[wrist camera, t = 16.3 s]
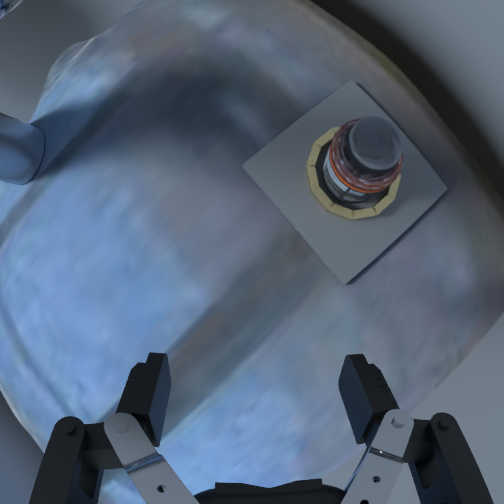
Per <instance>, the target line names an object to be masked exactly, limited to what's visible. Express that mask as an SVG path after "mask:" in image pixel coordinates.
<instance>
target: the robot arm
mask: <svg viewBox="0 0 504 504" xmlns="http://www.w3.org/2000/svg"><path fill="white" fill-rule="evenodd" d="M43 152H44V137H43V133H42V132H41V130H40V129H39V128H37V127H35V126H32V125H30V124H28V123H25V122H23V121H21V120H18V119H15V118H13V117H11V116H8V115H6V114H3V113H1V112H0V182H6V183H11V184H17V185H22V184H25V183H27V182H28V181H29V180H30V179H31V178H32V177H33V176H34V174H35V173H36V171H37V170H38V168H39V165H40V163H41V160H42V157H43ZM170 389H171V376H170V370H169V364H168V357H167V354H165V353H153V352H150V353H149V355H148V358H147V361H146V363H139V362H138V363H137V364H136V365H135V366H134V367H133V368H132V369H131V371H130V374H129V377H128V380H127V382H126V387H125V388H124V391H123V394H122V396H121V399H120V402H119V405H118V408H117V411H116V413H115V414H113V415H111V416H109V417H108V418H107V419H106V421H105V422H103V423H96V424H84V423H83V422H82V421H81V420H80V419H79V418H76V417H72V416H68V417H64V418H62V419H60V420H59V421H58V422H57V423H56V424H55V426H54V429H53V431H52V434H51V437H50V439H49V442H48V445H47V448H46V451H45V454H44V456H43V459H42V462H41V466H40V468H39V472H38V475H37V478H36V481H35V484H34V488H33V491H32V494H31V498H30V502H29V504H97V503H98V498H99V492H100V487H101V482H102V477H103V472H104V469H115V468H125V470H126V472H127V473H128V475H129V477H130V479H131V480H132V482H133V483H134V485H135V487H136V488H137V490H138V491H139V493H140V495H141V496H142V498H143V499H144V501H145V502H146V504H386V503H387V501H388V499H389V497H390V494H391V492H392V490H393V487H394V485H395V483H396V481H397V478H398V476H399V473H400V470H401V468H402V465H403V462H405V463H408V465H409V468H410V471H411V473H412V477H413V480H414V483H415V486H416V489H417V493H418V496H419V499H420V503H421V504H494V503H493V501H492V498H491V496H490V493H489V491H488V488H487V486H486V484H485V481H484V479H483V476H482V474H481V472H480V470H479V467H478V465H477V463H476V461H475V458H474V456H473V454H472V452H471V450H470V448H469V446H468V444H467V442H466V439H465V437H464V435H463V433H462V431H461V429H460V427H459V425H458V423H457V421H456V420H455V418H454V417H453V416H451V415H450V414H447V413H442V412H441V413H437V414H435V415H434V416H433V417H432V418H431V420H418V419H413V418H412V416H411V415H410V414H409V413H408V412H406V411H404V410H401V409H399V407H398V405H397V402H396V400H395V398H394V396H393V394H392V392H391V390H390V388H389V386H388V384H387V382H386V380H385V378H384V376H383V374H382V372H381V370H380V369H378V368H377V367H376V366H375V365H374V364H368V362H367V360H366V358H365V356H364V355H363V354H353V355H347V356H346V357H345V360H344V364H343V367H342V370H341V374H340V377H339V391H340V394H341V397H342V400H343V403H344V406H345V409H346V412H347V415H348V418H349V421H350V424H351V427H352V430H353V433H354V436H355V439H356V442H357V444H363V443H366V446H367V448H366V450H365V452H364V454H363V456H362V458H361V460H360V462H359V464H358V466H357V468H356V469H355V471H354V473H353V475H352V477H351V478H350V480H349V482H348V483H347V485H346V487H345V488H344V490H342V489H339V488H337V487H333V486H329V485H323V484H322V479H321V478H319V479H310V480H300V481H294V482H291V483H287V484H284V485H280V486H277V487H273V488H265V487H259V486H254V485H249V484H244V483H217V482H215V489H209V490H206V491H203V492H200V493H198V494H196V495H194V496H193V495H192V494H191V493H190V491H189V490H188V489H187V488H186V486H185V485H184V484H183V482H182V481H181V480H180V479H179V477H178V476H177V475H176V473H175V472H174V471H173V469H172V468H171V467H170V465H169V464H168V462H167V461H166V460H165V458H164V457H163V456H162V455H159V454H158V452H157V451H156V449H155V448H154V447H159V445H160V440H161V435H162V429H163V424H164V419H165V414H166V409H167V404H168V399H169V395H170Z"/></svg>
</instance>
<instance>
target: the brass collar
mask: <svg viewBox="0 0 504 504" xmlns="http://www.w3.org/2000/svg"><path fill="white" fill-rule="evenodd" d="M339 128H340V127H334V128H331V129H330V130H329V131H328V132H326V133H325V134H324V135H323V136H321V137H320V138H319V139H318V140H316V141H315V142H314V144H313V147H312V150H311V152H310V155H309V158H308V161H307V164H306V169H305V171H306V175H307V180H308V185H309V190H310V193H311V195H312V196H313V197H314V198H315V200H316V201H317V202H318V203H319V204H320V205H321V207H322V208H323V209H324V210H325V211H326V212H327V213H330V214H332V215H335V216H338V217H340V218H343V219H346V220H348V221H351V220H357V219H363V218H369V217H373V216H376V215H378V214H379V213H380V212H381V211H382V210H384V209H385V208H386V207H387V206H388V205H389V204H390V203H391V202H392V201H393V200H394V199H395V197H396V193H397V189H398V186H399V182H400V179H401V174H399V176H398V177H397V179H396V180H395V181H394V182H393V183H392V184H391V185H389V186H388V187H387V188H385V190H384V194H383V197H382V198H381V199H380V200H379V201H378V202H376V203H375V204H374V205H373V206H372V207H371V208H367V209H361V210H355V211H353V210H350V209H348V208H345V207H342V206H340V205H337V204H334V203H333V202H332V201H331V200H330V198H329V197H328V196H327V195H326V194H325V193H324V192H323V190H322V189H321V188H320V187H319V183H318V178H317V174H316V169H315V165H316V162H317V159H318V156H319V153H320V152H321V151H322V150H323V149H325V148H326V147H327V146H328V145H330V144H331V142H332V139H333V137H334V135H335V133H336V132H337V130H338V129H339Z"/></svg>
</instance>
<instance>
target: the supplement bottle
mask: <svg viewBox="0 0 504 504" xmlns="http://www.w3.org/2000/svg"><path fill="white" fill-rule="evenodd" d="M403 157H404V156H403V141H402V138H401V135H400V133H399V131H398V130H397V129H396V127H395V126H394V125H393V124H392V123H390V122H389V121H387V120H385V119H383V118H381V117H376V116H368V117H364V118H358V119H353V120H350V121H348V122H346V123H345V124H343V125H342V126H341V127H340V128H339V129H338V130H337V132H336V133H335V135H334V137H333V139H332V142H331V144H330V147H329V150H328V153H327V156H326V159H325V162H324V166H323V180H324V183H325V185H326V187H327V189H328V190H329V192H330V193H331V194H332V195H333V196H334V197H336V198H337V199H339V200H341V201H343V202H347V203H360V202H363V201H365V200H367V199H369V198H371V197H372V196H374V195H376V194H377V193H379V192H381V191H382V190H384V189H385V188H387V187H388V186H389V185H391V184H392V183H393V182H394V181H395V180H396V179H397V177H398V176H399V174H400V172H401V170H402V166H403V160H404V159H403Z"/></svg>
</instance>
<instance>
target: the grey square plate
mask: <svg viewBox="0 0 504 504" xmlns="http://www.w3.org/2000/svg"><path fill="white" fill-rule="evenodd" d="M368 116H376V117H381V118H383V119H385V120H387V121H389V122H390V123H392V124H393V125H394V126H395V127H396V129H397V130H398V131H399V133H400V135H401V138H402V141H403V156H404V157H403V159H404V160H403V166H402V170H401V172H400V174H401V179H400V182H399V186H398V189H397V193H396V197H395V199H394V200H393V201H392V202H391V203H390V204H389V205H388V206H387V207H386V208H385V209H384V210H382V211H381V212H380V213H379V214H378V215H376V216H373V217H369V218H363V219H357V220H351V221H348V220H346V219H343V218H340V217H338V216H335V215H332V214H330V213H327V212H326V211H325V210H324V209H323V208H322V207H321V205H320V204H319V203H318V202H317V201H316V200H315V198H314V197H313V196H312V195H311V193H310V190H309V185H308V180H307V175H306V171H305V169H306V164H307V161H308V158H309V155H310V152H311V150H312V147H313V144H314V142H315V141H316V140H318V139H319V138H320V137H321V136H323V135H324V134H325V133H326V132H328V131H329V130H330V129H331V128H334V127H341V126H342V125H343V124H345V123H346V122H348V121H350V120H353V119H358V118H364V117H368ZM329 147H330V145H328V146H327V147H326V148H325V149H323V150H322V151H321V152H320V153H319V156H318V159H317V162H316V165H315V169H316V174H317V178H318V183H319V187H320V188H321V189H322V190H323V192H324V193H325V194H326V195H327V196H328V197H329V198H330V200H331V201H332V202H333V203H334V204H337V205H340V206H342V207H345V208H348V209H350V210H353V211H355V210H361V209H367V208H371V207H372V206H373V205H374V204H375V203H376V202H378V201H379V200H380V199H381V198H382V197H383V194H384V190H385V189H384V190H382V191H381V192H379V193H377V194H376V195H374V196H372V197H371V198H369V199H367V200H365V201H363V202H360V203H347V202H343V201H341V200H339V199H337V198H336V197H334V196H333V195H332V194H331V193H330V192H329V190H328V189H327V187H326V185H325V183H324V180H323V166H324V162H325V159H326V156H327V153H328V150H329ZM242 168H243V169H244V170H245V171H246V172H247V173H248V175H249V176H250V177H251V178H252V179H253V180H254V181H255V182H256V184H257V185H258V186H259V187H260V188H261V189H262V190H263V192H264V193H265V194H266V195H267V196H268V197H269V198H270V200H271V201H272V202H273V203H274V204H275V205H276V206H277V208H278V209H279V210H280V211H281V212H282V213H283V215H284V216H285V217H286V218H287V219H288V220H289V222H290V223H291V224H292V225H293V226H294V228H295V229H296V230H297V231H298V232H299V233H300V235H301V236H302V237H303V238H304V239H305V241H306V242H307V243H308V244H309V245H310V247H311V248H312V249H313V250H314V251H315V253H316V254H317V255H318V256H319V258H320V259H321V260H322V261H323V262H324V264H325V265H326V266H327V267H328V268H329V270H330V271H331V272H332V273H333V275H334V276H335V277H336V278H337V280H338V281H339V282H340V283H341V285H342V286H344V285H345V284H346V283H348V282H349V281H350V280H351V279H352V278H353V277H355V276H356V275H357V274H358V273H359V272H360V271H362V270H363V269H364V268H365V267H366V266H367V265H368V264H369V263H371V262H372V261H373V260H374V259H375V258H376V257H377V256H378V255H380V254H381V253H382V252H383V251H384V250H385V249H386V248H387V247H388V246H389V245H391V244H392V243H393V242H394V241H395V240H396V239H397V238H398V237H399V236H400V235H401V234H402V233H403V232H405V231H406V230H407V229H408V228H409V227H410V226H411V225H412V224H413V223H414V222H415V221H416V220H417V219H418V218H419V217H420V216H421V215H422V214H423V213H424V212H425V211H426V210H427V209H428V208H429V207H430V206H431V205H432V204H433V203H434V202H435V201H436V200H437V199H438V198H439V197H440V196H441V195H442V194H443V193H444V192H445V191H446V190H447V189H448V188H447V187H446V186H445V184H444V183H443V181H442V180H441V179H440V177H439V176H438V175H437V173H436V172H435V171H434V170H433V168H432V167H431V166H430V164H429V163H428V162H427V161H426V159H425V158H424V157H423V156H422V154H421V153H420V152H419V151H418V149H417V148H416V147H415V146H414V145H413V143H412V142H411V141H410V140H409V139H408V138H407V136H406V135H405V134H404V133H403V132H402V131H401V130H400V129H399V127H398V126H397V125H396V124H395V123H394V122H393V121H392V120H391V119H390V117H389V116H388V115H387V114H386V113H385V112H384V111H383V110H382V109H381V108H380V107H379V106H378V105H377V104H376V103H375V102H374V101H373V100H372V99H371V98H370V97H369V96H368V95H367V94H366V93H365V92H364V91H363V90H362V89H361V88H360V87H359V86H358V85H357V84H356V83H355V82H354V81H353V80H352V79H351V80H350V81H348V82H347V83H346V84H344V85H343V86H342V87H340V88H339V89H337V90H336V91H335V92H333V93H332V94H331V95H329V96H328V97H327V98H325V99H324V100H323V101H321V102H320V103H319V104H317V105H316V106H315V107H313V108H312V109H311V110H310V111H308V112H307V113H306V114H304V115H303V116H302V117H301V118H299V119H298V120H297V121H295V122H294V123H293V124H292V125H290V126H289V127H288V128H287V129H285V130H284V131H283V132H282V133H280V134H279V135H278V136H277V137H275V138H274V139H273V140H272V141H270V142H269V143H268V144H267V145H266V146H264V147H263V148H262V149H261V150H259V151H258V152H257V153H256V154H255V155H253V156H252V157H251V158H250V159H249V160H247V161H246V162H245V163H244V164H243V165H242Z"/></svg>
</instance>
